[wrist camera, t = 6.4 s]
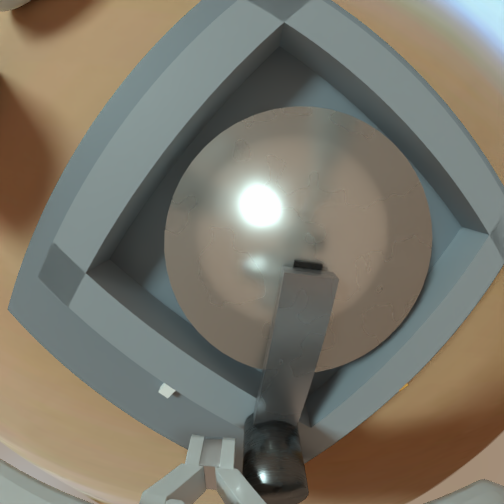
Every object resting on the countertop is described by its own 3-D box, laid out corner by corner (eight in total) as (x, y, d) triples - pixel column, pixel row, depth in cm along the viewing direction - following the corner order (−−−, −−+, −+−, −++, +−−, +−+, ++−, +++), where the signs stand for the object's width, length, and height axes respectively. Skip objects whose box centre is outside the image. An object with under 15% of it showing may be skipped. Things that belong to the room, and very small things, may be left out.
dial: (195, 104, 11) (142, 38, 5) (423, 149, 11) (524, 139, 5) (171, 398, 14) (140, 490, 8) (352, 414, 14) (383, 499, 8)
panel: (256, -29, 10) (256, -67, 7) (512, 224, 13) (548, 234, 10) (18, 302, 14) (-14, 323, 11) (267, 472, 17) (269, 507, 14)
